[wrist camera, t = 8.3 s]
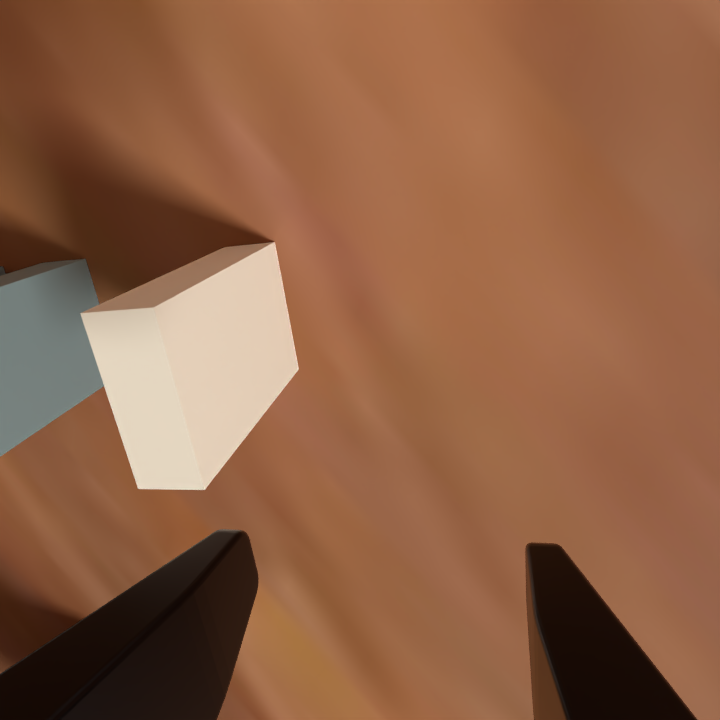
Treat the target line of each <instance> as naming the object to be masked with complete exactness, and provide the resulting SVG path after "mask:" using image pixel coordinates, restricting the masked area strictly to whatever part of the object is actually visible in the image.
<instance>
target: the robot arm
mask: <svg viewBox="0 0 720 720" xmlns="http://www.w3.org/2000/svg"><path fill="white" fill-rule="evenodd" d="M525 555H526V602H527V620H528V635H529V651H530V667H531V683H532V699H533V714H534V720H697V719H696V717H695V716H694V715H693V713H692V712H691V711H690V710H689V708H688V707H687V706H686V705H685V703H684V702H683V701H682V699H681V698H680V697H679V696H678V694H677V693H676V692H675V691H674V689H673V688H672V687H671V685H670V684H669V683H668V682H667V680H666V679H665V678H664V677H663V675H662V674H661V673H660V671H659V670H658V669H657V668H656V666H655V665H654V664H653V663H652V661H651V660H650V659H649V657H648V656H647V655H646V654H645V652H644V651H643V650H642V649H641V647H640V646H639V645H638V643H637V642H636V641H635V640H634V638H633V637H632V636H631V635H630V633H629V632H628V631H627V629H626V628H625V627H624V626H623V624H622V623H621V622H620V621H619V619H618V618H617V617H616V615H615V614H614V613H613V612H612V610H611V609H610V608H609V607H608V605H607V604H606V603H605V602H604V600H603V599H602V598H601V596H600V595H599V594H598V593H597V591H596V590H595V589H594V588H593V586H592V585H591V584H590V582H589V581H588V580H587V579H586V577H585V576H584V575H583V574H582V572H581V571H580V570H579V568H578V567H577V566H576V565H575V563H574V562H573V561H572V560H571V558H570V557H569V556H568V554H567V553H566V552H565V551H564V549H563V548H562V547H561V546H560V545H558V544H553V543H528V544H527V546H526V551H525ZM257 589H258V572H257V568H256V564H255V559H254V555H253V551H252V547H251V543H250V539H249V536H248V535H247V533H246V532H244V531H242V530H228V529H222V530H217V531H215V532H214V533H212V534H211V535H209V536H208V537H206V538H205V539H203V540H202V541H200V542H199V543H197V544H196V545H194V546H193V547H191V548H190V549H188V550H186V551H185V552H183V553H182V554H180V555H179V556H177V557H176V558H174V559H173V560H171V561H170V562H168V563H167V564H165V565H164V566H162V567H161V568H159V569H158V570H156V571H155V572H153V573H152V574H150V575H149V576H147V577H146V578H144V579H143V580H141V581H140V582H138V583H137V584H135V585H134V586H132V587H131V588H129V589H128V590H126V591H125V592H123V593H122V594H120V595H119V596H117V597H116V598H114V599H113V600H111V601H110V602H108V603H107V604H105V605H104V606H102V607H101V608H99V609H98V610H96V611H94V612H93V613H91V614H90V615H88V616H87V617H85V618H84V619H82V620H81V621H79V622H78V623H76V624H75V625H73V626H72V627H70V628H69V629H67V630H66V631H64V632H63V633H61V634H60V635H58V636H57V637H55V638H54V639H52V640H51V641H49V642H48V643H46V644H45V645H43V646H42V647H40V648H39V649H37V650H36V651H34V652H33V653H31V654H30V655H28V656H27V657H25V658H24V659H22V660H21V661H19V662H17V663H16V664H14V665H13V666H11V667H10V668H8V669H7V670H5V671H4V672H2V673H1V674H0V720H217V717H218V715H219V712H220V710H221V707H222V704H223V702H224V699H225V697H226V693H227V690H228V687H229V684H230V681H231V678H232V675H233V671H234V668H235V664H236V661H237V658H238V654H239V651H240V648H241V644H242V641H243V637H244V634H245V631H246V627H247V624H248V620H249V617H250V614H251V610H252V607H253V604H254V600H255V597H256V593H257Z"/></svg>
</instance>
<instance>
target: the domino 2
mask: <svg viewBox="0 0 720 720" xmlns="http://www.w3.org/2000/svg"><path fill="white" fill-rule="evenodd" d="M80 314H81V317H82V320H83V323H84V326H85V329H86V332H87V335H88V338H89V341H90V344H91V347H92V350H93V353H94V357H95V360H96V363H97V366H98V369H99V372H100V375H101V378H102V381H103V384H104V387H105V390H106V393H107V396H108V399H109V402H110V405H111V408H112V411H113V414H114V417H115V420H116V423H117V426H118V429H119V432H120V435H121V438H122V441H123V444H124V447H125V450H126V453H127V456H128V459H129V462H130V465H131V468H132V471H133V474H134V477H135V480H136V483H137V486H138V489H180V490H205V489H206V487H207V486H208V485H209V484H210V482H211V481H212V480H213V478H214V477H215V476H216V475H217V473H218V472H219V471H220V470H221V468H222V467H223V466H224V464H225V463H226V462H227V461H228V459H229V458H230V457H231V455H232V454H233V453H234V452H235V450H236V449H237V448H238V446H239V445H240V444H241V443H242V441H243V440H244V439H245V437H246V436H247V435H248V434H249V432H250V431H251V430H252V429H253V427H254V426H255V425H256V423H257V422H258V421H259V420H260V418H261V417H262V416H263V414H264V413H265V412H266V411H267V409H268V408H269V407H270V405H271V404H272V403H273V402H274V400H275V399H276V398H277V396H278V395H279V394H280V393H281V391H282V390H283V389H284V388H285V386H286V385H287V384H288V382H289V381H290V380H291V379H292V377H293V376H294V375H295V373H296V372H297V371H298V370H299V368H298V362H297V357H296V352H295V347H294V341H293V336H292V331H291V325H290V320H289V315H288V309H287V304H286V299H285V294H284V288H283V283H282V278H281V272H280V267H279V262H278V257H277V251H276V246H275V242H269V243H260V244H250V245H241V246H231V247H224V248H221V249H219V250H217V251H215V252H213V253H211V254H208V255H206V256H204V257H202V258H200V259H197V260H195V261H193V262H191V263H189V264H187V265H184V266H182V267H180V268H178V269H176V270H173V271H171V272H169V273H167V274H165V275H163V276H160V277H158V278H156V279H154V280H152V281H149V282H147V283H145V284H143V285H141V286H139V287H136V288H134V289H132V290H130V291H128V292H125V293H123V294H121V295H119V296H117V297H114V298H112V299H110V300H108V301H106V302H104V303H101V304H99V305H97V306H95V307H93V308H90V309H88V310H86V311H84V312H82V313H80Z"/></svg>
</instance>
